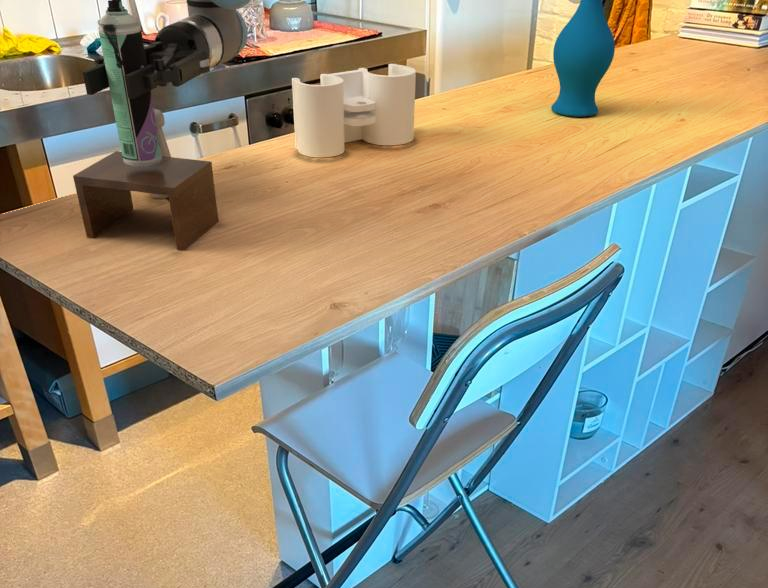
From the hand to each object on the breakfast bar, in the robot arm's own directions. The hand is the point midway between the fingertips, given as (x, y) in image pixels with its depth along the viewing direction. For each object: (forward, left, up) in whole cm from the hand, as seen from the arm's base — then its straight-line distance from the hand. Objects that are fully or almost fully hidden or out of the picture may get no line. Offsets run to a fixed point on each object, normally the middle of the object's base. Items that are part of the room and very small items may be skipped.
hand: (108, 85), depth 107 cm
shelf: (0, +5, -21) cm, 22 cm away
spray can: (0, +5, -11) cm, 12 cm away
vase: (+55, +93, -21) cm, 110 cm away
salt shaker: (-6, +19, -21) cm, 29 cm away
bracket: (+17, +56, -21) cm, 62 cm away
